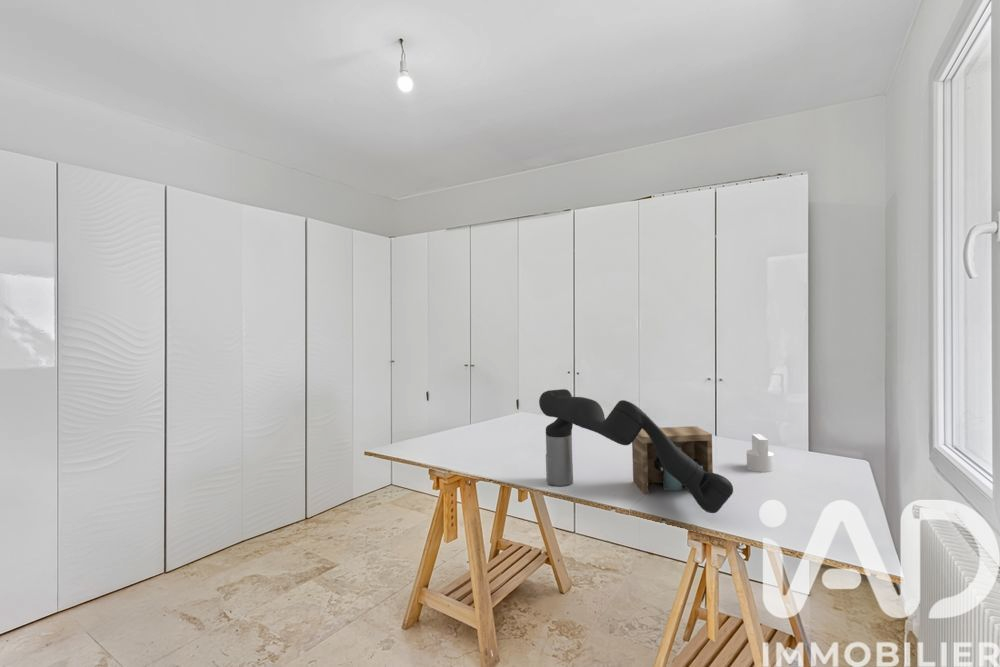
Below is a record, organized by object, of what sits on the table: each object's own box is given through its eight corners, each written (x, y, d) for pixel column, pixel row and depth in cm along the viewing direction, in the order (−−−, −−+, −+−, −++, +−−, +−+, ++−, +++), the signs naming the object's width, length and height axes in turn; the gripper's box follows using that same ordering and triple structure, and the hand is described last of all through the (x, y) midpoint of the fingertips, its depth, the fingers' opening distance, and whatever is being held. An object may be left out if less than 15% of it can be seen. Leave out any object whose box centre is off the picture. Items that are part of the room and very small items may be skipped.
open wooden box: (643, 494, 159) (642, 437, 159) (633, 482, 171) (631, 428, 171) (713, 491, 160) (711, 434, 159) (697, 479, 172) (696, 426, 171)
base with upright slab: (777, 472, 176) (777, 440, 175) (751, 472, 178) (750, 439, 177) (769, 465, 185) (768, 434, 184) (743, 464, 186) (743, 433, 186)
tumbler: (677, 492, 160) (676, 450, 160) (660, 488, 164) (659, 447, 164) (685, 487, 165) (684, 446, 164) (668, 483, 169) (667, 443, 168)
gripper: (712, 461, 150) (690, 447, 166) (666, 463, 150) (649, 448, 166) (712, 485, 150) (691, 469, 166) (667, 487, 150) (649, 470, 166)
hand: (670, 459), depth 166 cm, fingers open, 8 cm apart
